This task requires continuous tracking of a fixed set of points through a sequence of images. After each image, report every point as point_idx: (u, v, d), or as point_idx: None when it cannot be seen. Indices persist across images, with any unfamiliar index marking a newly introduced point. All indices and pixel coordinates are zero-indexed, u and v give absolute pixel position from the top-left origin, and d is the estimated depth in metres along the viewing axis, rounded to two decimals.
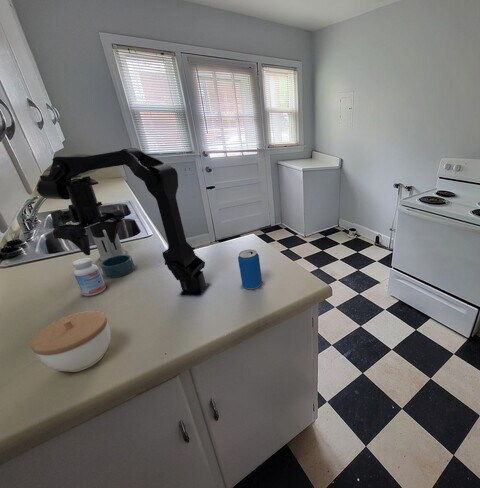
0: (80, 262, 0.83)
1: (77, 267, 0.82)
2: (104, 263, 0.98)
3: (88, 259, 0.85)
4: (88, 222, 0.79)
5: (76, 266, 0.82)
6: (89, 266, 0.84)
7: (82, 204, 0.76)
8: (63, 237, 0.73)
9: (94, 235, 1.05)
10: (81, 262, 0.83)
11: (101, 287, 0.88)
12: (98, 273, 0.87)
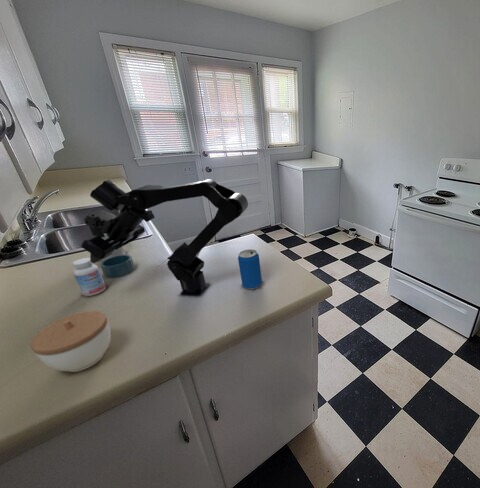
0: (80, 262, 0.83)
1: (77, 267, 0.82)
2: (104, 263, 0.98)
3: (88, 259, 0.85)
4: (117, 240, 0.79)
5: (76, 266, 0.82)
6: (89, 266, 0.84)
7: (126, 228, 0.77)
8: (91, 252, 0.72)
9: (94, 235, 1.05)
10: (81, 262, 0.83)
11: (101, 287, 0.88)
12: (98, 273, 0.87)
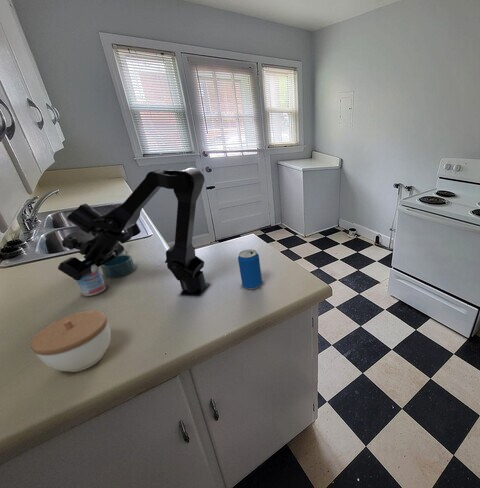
0: None
1: None
2: None
3: None
4: (95, 261, 0.81)
5: None
6: None
7: (103, 249, 0.80)
8: (68, 274, 0.75)
9: (94, 235, 1.05)
10: None
11: (101, 287, 0.88)
12: (98, 273, 0.87)
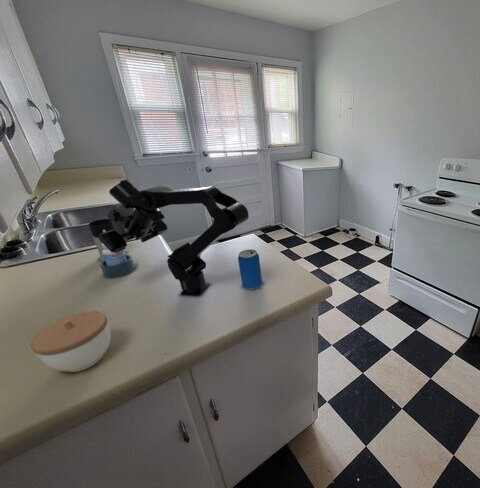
0: None
1: (104, 247, 0.94)
2: (104, 263, 0.98)
3: None
4: (133, 236, 0.83)
5: (103, 246, 0.94)
6: None
7: (138, 226, 0.80)
8: (105, 245, 0.78)
9: (94, 235, 1.05)
10: None
11: None
12: (121, 255, 0.97)
